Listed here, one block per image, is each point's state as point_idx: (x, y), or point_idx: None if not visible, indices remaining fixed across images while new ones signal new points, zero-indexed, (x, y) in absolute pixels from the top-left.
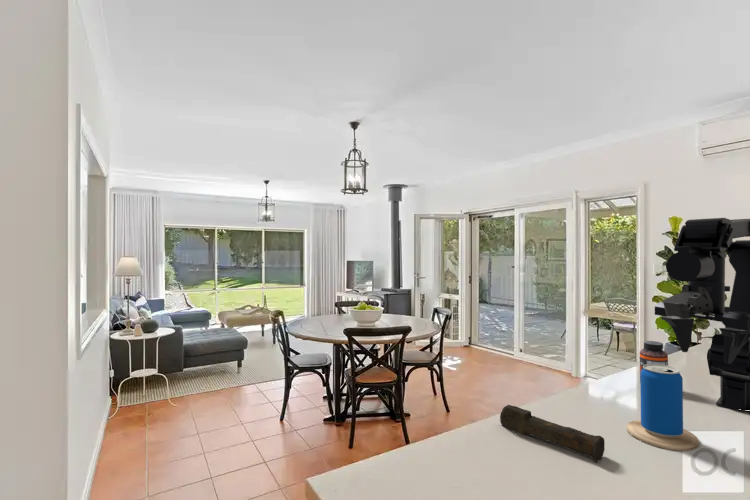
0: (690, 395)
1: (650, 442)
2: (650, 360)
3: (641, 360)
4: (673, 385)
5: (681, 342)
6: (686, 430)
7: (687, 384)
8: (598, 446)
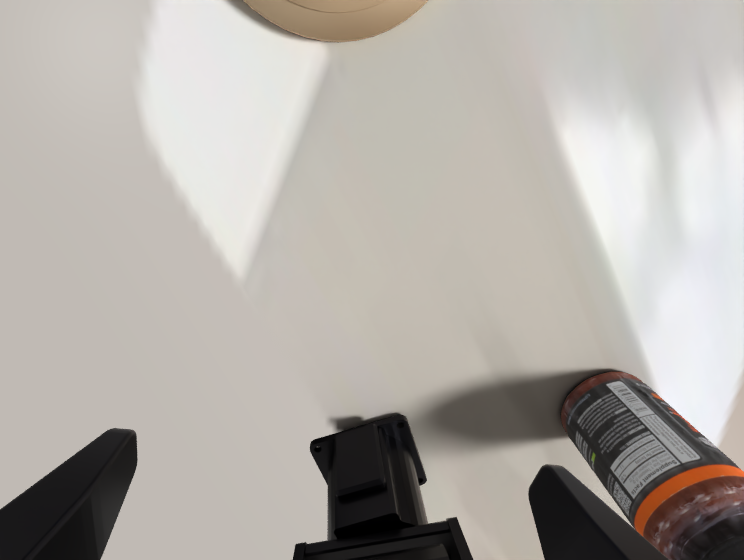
0: (490, 427)
1: None
2: (690, 465)
3: (722, 454)
4: None
5: (622, 549)
6: (298, 31)
7: None
8: None
